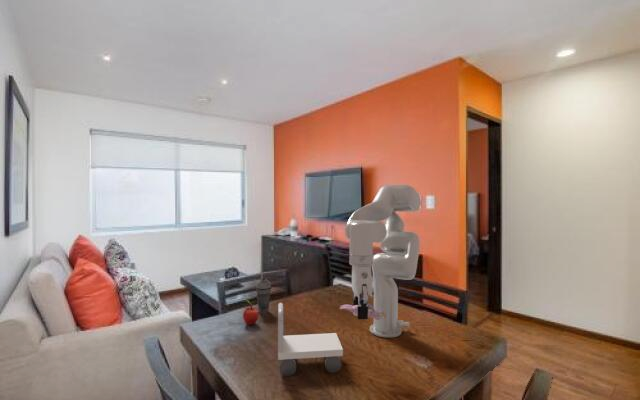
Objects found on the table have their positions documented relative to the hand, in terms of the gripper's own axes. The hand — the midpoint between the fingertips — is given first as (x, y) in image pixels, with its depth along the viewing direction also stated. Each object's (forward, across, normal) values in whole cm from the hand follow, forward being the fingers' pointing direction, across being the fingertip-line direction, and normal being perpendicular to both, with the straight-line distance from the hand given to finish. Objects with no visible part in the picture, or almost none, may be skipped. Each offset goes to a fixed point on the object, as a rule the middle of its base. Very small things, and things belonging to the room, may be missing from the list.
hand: (360, 314), depth 103 cm
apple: (+16, +36, +40) cm, 56 cm away
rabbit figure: (+1, 0, -1) cm, 2 cm away
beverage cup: (+16, +50, +35) cm, 63 cm away
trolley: (+16, +1, +16) cm, 23 cm away
